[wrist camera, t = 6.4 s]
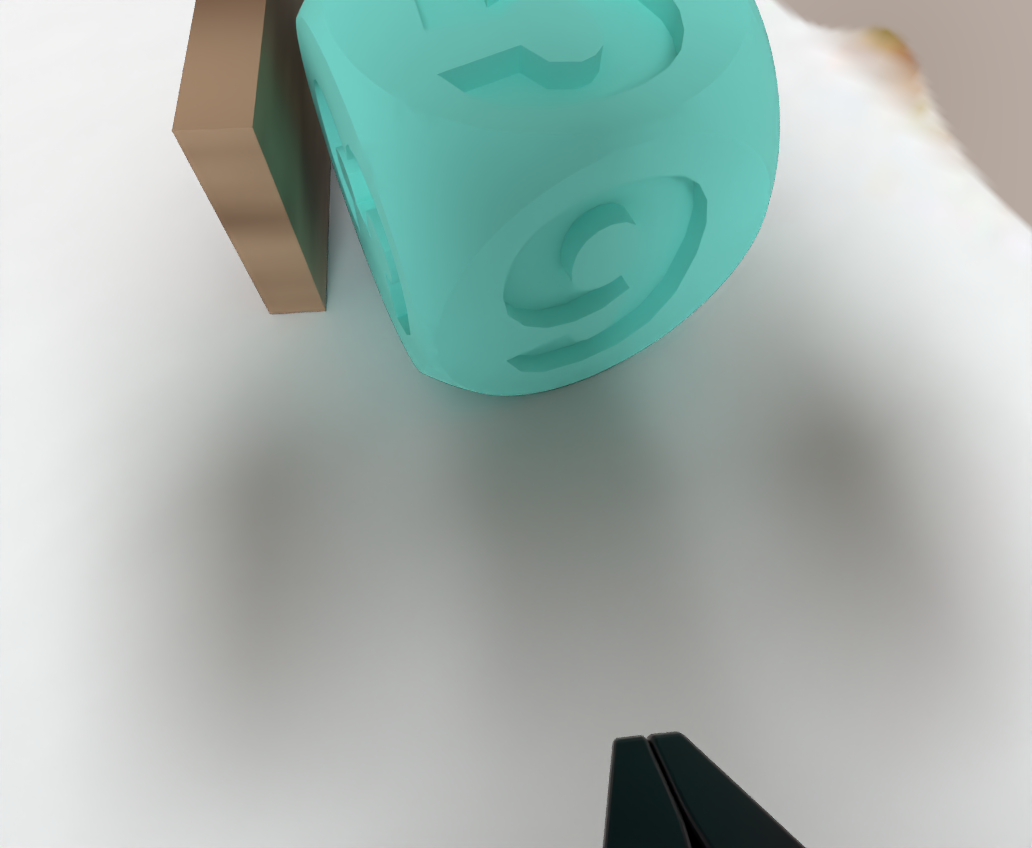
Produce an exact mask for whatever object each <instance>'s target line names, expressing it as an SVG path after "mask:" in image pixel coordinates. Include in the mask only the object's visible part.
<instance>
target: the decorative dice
mask: <svg viewBox="0 0 1032 848" xmlns="http://www.w3.org/2000/svg"><path fill="white" fill-rule="evenodd" d="M296 30H297V37H298V43H299V48H300V53H301V57H302V62H303V66H304V70H305V74H306V78H307V81H308V85H309V89H310V92H311V96H312V99H313V103H314V106H315V110H316V113H317V117H318V120H319V123H320V126H321V130H322V133H323V136H324V139H325V143H326V146H327V149H328V152H329V155H330V158H331V161H332V164H333V167H334V170H335V173H336V176H337V179H338V182H339V185H340V188H341V191H342V194H343V197H344V199H345V202H346V205H347V208H348V211H349V214H350V216H351V219H352V222H353V225H354V227H355V230H356V233H357V235H358V238H359V241H360V243H361V246H362V249H363V251H364V254H365V257H366V259H367V262H368V264H369V267H370V269H371V272H372V275H373V277H374V280H375V282H376V284H377V287H378V289H379V292H380V294H381V297H382V299H383V301H384V304H385V306H386V308H387V311H388V313H389V315H390V318H391V320H392V322H393V324H394V326H395V329H396V331H397V333H398V335H399V337H400V339H401V341H402V343H403V345H404V347H405V349H406V351H407V353H408V355H409V357H410V358H411V360H412V362H413V363H414V365H415V366H416V368H417V369H418V370H419V371H420V372H421V373H423V374H425V375H428V376H430V377H432V378H434V379H437V380H439V381H442V382H445V383H447V384H450V385H452V386H456V387H459V388H462V389H466V390H470V391H474V392H478V393H483V394H488V395H498V396H514V395H525V394H532V393H538V392H543V391H548V390H552V389H555V388H559V387H562V386H566V385H569V384H572V383H575V382H578V381H580V380H583V379H586V378H588V377H590V376H593V375H595V374H598V373H600V372H602V371H604V370H606V369H608V368H610V367H612V366H614V365H616V364H618V363H620V362H622V361H624V360H626V359H628V358H629V357H631V356H633V355H635V354H636V353H638V352H640V351H641V350H643V349H645V348H646V347H648V346H649V345H651V344H652V343H654V342H655V341H657V340H658V339H660V338H661V337H663V336H664V335H665V334H667V333H668V332H670V331H671V330H672V329H674V328H675V327H676V326H678V325H679V324H680V323H681V322H683V321H684V320H685V319H686V318H687V317H689V316H690V315H691V314H692V313H693V312H695V311H696V310H697V309H698V308H699V307H700V306H701V305H702V304H703V303H704V302H705V301H706V300H707V299H708V298H709V297H710V296H711V295H712V294H713V293H714V292H715V291H716V290H717V289H718V288H719V287H720V286H721V285H722V284H723V283H724V282H725V281H726V279H727V278H728V277H729V276H730V275H731V273H732V272H733V271H734V270H735V268H736V267H737V266H738V264H739V263H740V262H741V260H742V259H743V257H744V256H745V254H746V253H747V251H748V250H749V248H750V247H751V245H752V243H753V241H754V240H755V238H756V236H757V234H758V232H759V230H760V227H761V225H762V222H763V220H764V217H765V214H766V211H767V207H768V204H769V200H770V197H771V193H772V189H773V184H774V180H775V174H776V168H777V162H778V153H779V138H780V112H779V96H778V87H777V79H776V72H775V66H774V61H773V56H772V52H771V48H770V44H769V40H768V36H767V33H766V30H765V27H764V23H763V20H762V18H761V15H760V12H759V10H758V7H757V5H756V3H755V0H304V2H303V4H302V6H301V8H300V10H299V13H298V15H297V17H296Z"/></svg>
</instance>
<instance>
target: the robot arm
mask: <svg viewBox="0 0 1032 848" xmlns="http://www.w3.org/2000/svg"><path fill="white" fill-rule="evenodd" d="M603 848H805V847H804V846H803V845H802V844H801V843H800V842H799V841H798V840H797V839H796V838H794V837H793V836H792V835H791V834H790V833H789V832H788V831H787V830H786V829H785V828H784V827H783V826H782V825H780V824H779V823H778V822H777V821H776V820H775V819H774V818H773V817H772V816H771V815H770V814H769V813H768V812H766V811H765V810H764V809H763V808H762V807H761V806H760V805H759V804H758V803H757V802H756V801H755V800H753V799H752V798H751V797H750V796H749V795H748V794H747V793H746V792H745V791H744V790H743V789H742V788H741V787H739V786H738V785H737V784H736V783H735V782H734V781H733V780H732V779H731V778H730V777H729V776H728V775H727V774H725V773H724V772H723V771H722V770H721V769H720V768H719V767H718V766H717V765H716V764H715V763H714V762H712V761H711V760H710V759H709V758H708V757H707V756H706V755H705V754H704V753H703V752H702V751H701V750H700V749H698V748H697V747H696V746H695V745H694V744H693V743H692V742H691V741H690V740H689V739H688V738H687V737H685V736H684V735H683V734H681V733H679V732H666V733H657V734H651V735H649V736H648V737H647V738H645V737H644V736H642V735H639V736H630V737H621V738H616V739H615V740H614V741H613V745H612V755H611V765H610V776H609V787H608V797H607V808H606V818H605V829H604V840H603Z"/></svg>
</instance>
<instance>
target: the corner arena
mask: <svg viewBox="0 0 1032 848" xmlns="http://www.w3.org/2000/svg"><path fill="white" fill-rule="evenodd" d="M303 2H304V0H196V2H195V8H194V13H193V19H192V24H191V30H190V35H189V41H188V46H187V52H186V57H185V63H184V68H183V74H182V79H181V84H180V90H179V95H178V101H177V106H176V112H175V117H174V123H173V128H172V132H173V133H174V135H175V137H176V139H177V141H178V143H179V145H180V147H181V148H182V150H183V152H184V154H185V156H186V158H187V160H188V161H189V163H190V165H191V167H192V169H193V171H194V173H195V175H196V176H197V178H198V180H199V182H200V184H201V186H202V188H203V190H204V191H205V193H206V195H207V197H208V199H209V201H210V203H211V204H212V206H213V208H214V210H215V212H216V214H217V216H218V218H219V219H220V221H221V223H222V225H223V227H224V229H225V231H226V233H227V234H228V236H229V238H230V240H231V242H232V244H233V246H234V248H235V249H236V251H237V253H238V255H239V257H240V259H241V261H242V262H243V264H244V266H245V268H246V270H247V272H248V274H249V276H250V277H251V279H252V281H253V283H254V285H255V287H256V289H257V291H258V292H259V294H260V296H261V298H262V300H263V302H264V304H265V306H266V307H267V309H268V311H269V313H270V314H281V313H297V312H313V311H326V282H327V253H328V223H329V193H330V163H331V158H330V155H329V152H328V149H327V146H326V143H325V139H324V136H323V133H322V130H321V126H320V123H319V120H318V117H317V113H316V110H315V106H314V103H313V99H312V96H311V92H310V89H309V85H308V81H307V78H306V74H305V70H304V66H303V62H302V57H301V53H300V48H299V43H298V37H297V30H296V17H297V15H298V13H299V10H300V8H301V6H302V4H303Z"/></svg>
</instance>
